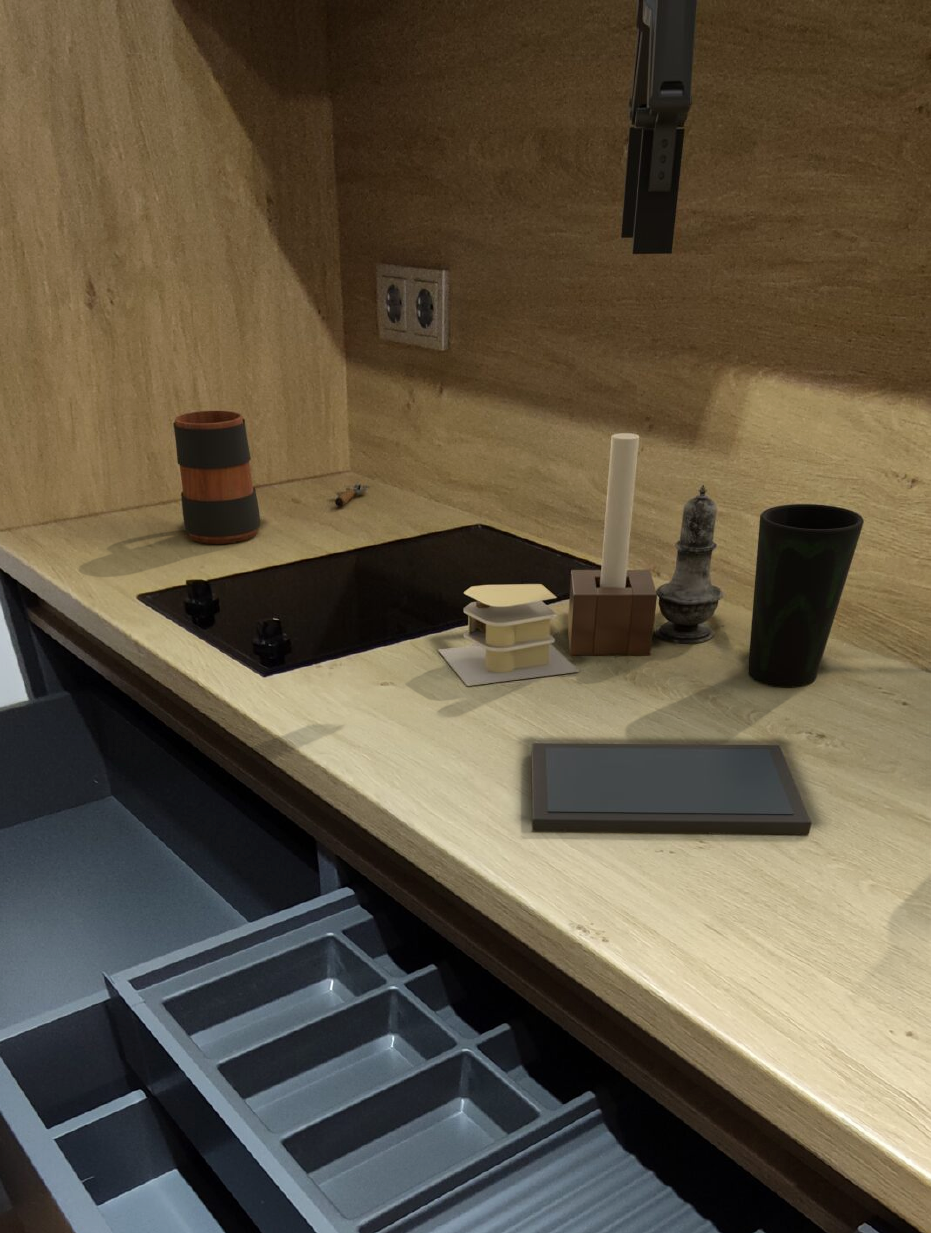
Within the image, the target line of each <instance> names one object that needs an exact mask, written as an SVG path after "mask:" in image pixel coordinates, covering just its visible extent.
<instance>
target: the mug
mask: <svg viewBox="0 0 931 1233" xmlns="http://www.w3.org/2000/svg"><path fill="white" fill-rule="evenodd" d="M172 426H173V431H174V439H175V448H176V460H177V465H179V472H180V480H181V487H182V491H181V493H180V498H181V499H180V500H181V509H182V517H183V524H184V530H185V532H186V533H187V534H188V535H189V537H190V539H191V540H193V541H195V542H196V543H200V544H206V545H229V544H237V543H241V542H245V541H248V540H250V539H253V538H255V537H256V536H257V534H258V532H259V528H260V527H261V515H260V507H259V502H258V496H257V490H256V488H255V487H254V485H253V484H254V483H253V478H252V470H251V464H250V461H251V459H252V457H251V451H250V446H249V441H248V434H247V427H246V426H247V425H246V420H245V419H244V418H243V415H242V413H239V412H236V411H231V410H199V411H192V412H186V413H183V414H180V415H178V416H176V417H175V418H174V422H173V425H172Z"/></svg>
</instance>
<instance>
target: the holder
mask: <svg viewBox="0 0 931 1233" xmlns="http://www.w3.org/2000/svg"><path fill="white" fill-rule="evenodd" d="M600 578H601V569H571V571H570V581H569V582H570V584H569V600H568V616H567V617H568V618H567V635H568V647H569V655H571V656H589V655H590V656H651V654H652V645H653V638H654V628H655V627H654V626H655V618H656V610H657V609H656V608H657V602H658V601H657V599H658V596H657V593H656V590H657V589H656V586H655V582H654V578H653V575H652V572H651V569H627V574H626V585H625V588H600Z"/></svg>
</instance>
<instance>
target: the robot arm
mask: <svg viewBox="0 0 931 1233" xmlns="http://www.w3.org/2000/svg"><path fill="white" fill-rule="evenodd" d="M698 3H699V0H637V2H636V12H635V13H636V14H635V15H636V16H635V20H636V22H635V24H636V28H637V35H636V45H635V52H634V53H635V54H634V61H633V62H634V65H633V73H632V81H631V82H632V84H631V94H630V98H629V99H628V111H629V115H628V116H629V117H628V118H629V119H628V120H629V121H630V127H628V140H627V152H626V163H625V164H626V165H625V177H624V178H625V179H624V190H623V203H622V216H621V227H620V228H621V229H620V230H621V231H620V238H621V239H630V238H631V239H632V246H631V248H632V249H631V254H632V255H669V254H670V255H671V254H673V247H674V246H673V245H674V236H675V226H676V217H677V208H678V207H677V206H678V196H679V188H680V178H681V168H682V158H683V151H684V150H683V149H684V140H685V139H684V138H685V130H686V128H684V127H685V123H686V121H687V120H688V115H689V112H690V109H691V107H692V106H693V105H692V104H693V95H692V82H693V69H694V68H693V67H694V52H695V38H696V24H697V23H696V22H697V10H698Z"/></svg>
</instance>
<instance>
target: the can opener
mask: <svg viewBox="0 0 931 1233" xmlns="http://www.w3.org/2000/svg"><path fill="white" fill-rule="evenodd" d="M361 485H362V484H361V483H357V482H356V483H355V484H354V487H353V488H350V487H345V491H344V492H343V493H340V494H339V495H338V496H337V497H336V498H335V500H334V502H335V506H337V507H338V508H340V507H341V508H342V507H343V506H345V505H346V504H347V503H348V502H349V501H350V500H351V499H353V498H354V496H355V495H356V494H357V493H358V494H364V493H366V492H367V491H368V488H367V487H366V486H364V487H362V486H361Z"/></svg>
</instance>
